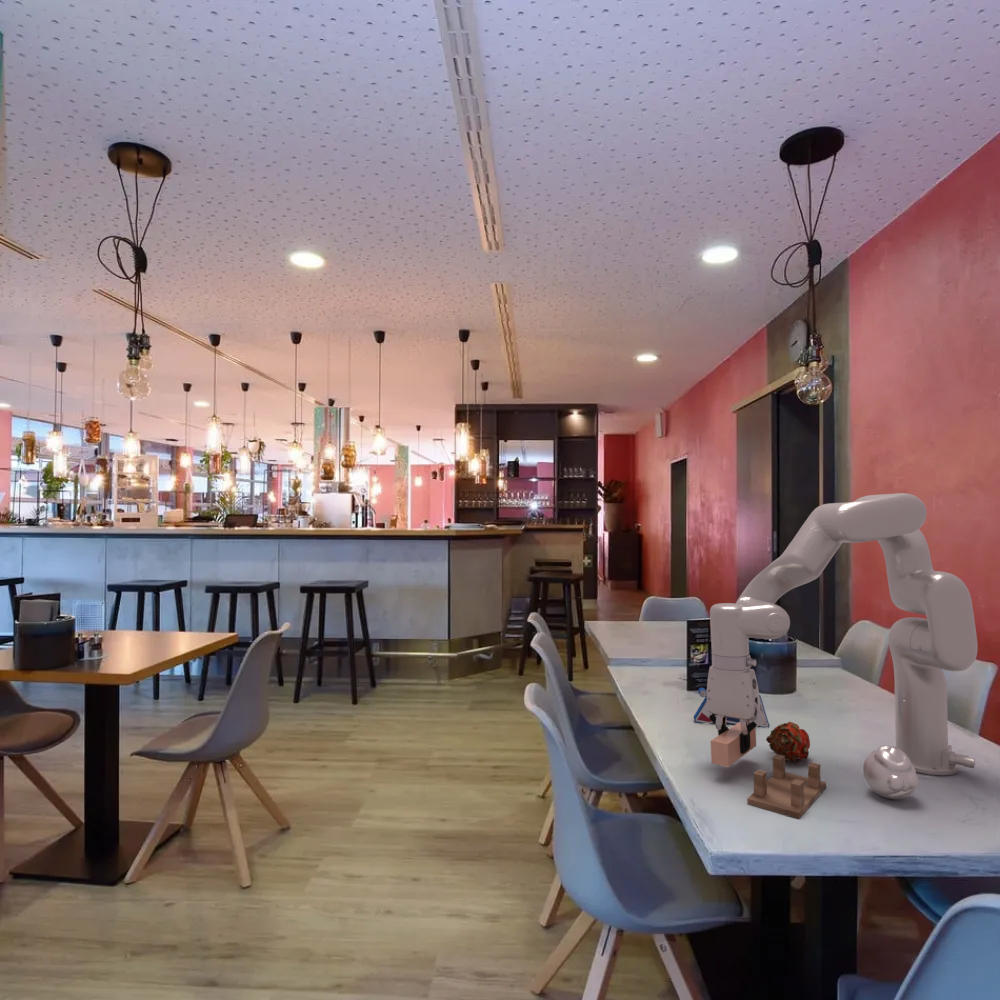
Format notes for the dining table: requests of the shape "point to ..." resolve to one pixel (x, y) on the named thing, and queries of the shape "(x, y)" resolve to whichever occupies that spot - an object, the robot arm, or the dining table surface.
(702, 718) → the logo
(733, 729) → the clay strip
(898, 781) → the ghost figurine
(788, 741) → the dragon fruit
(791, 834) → the dining table surface
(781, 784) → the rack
